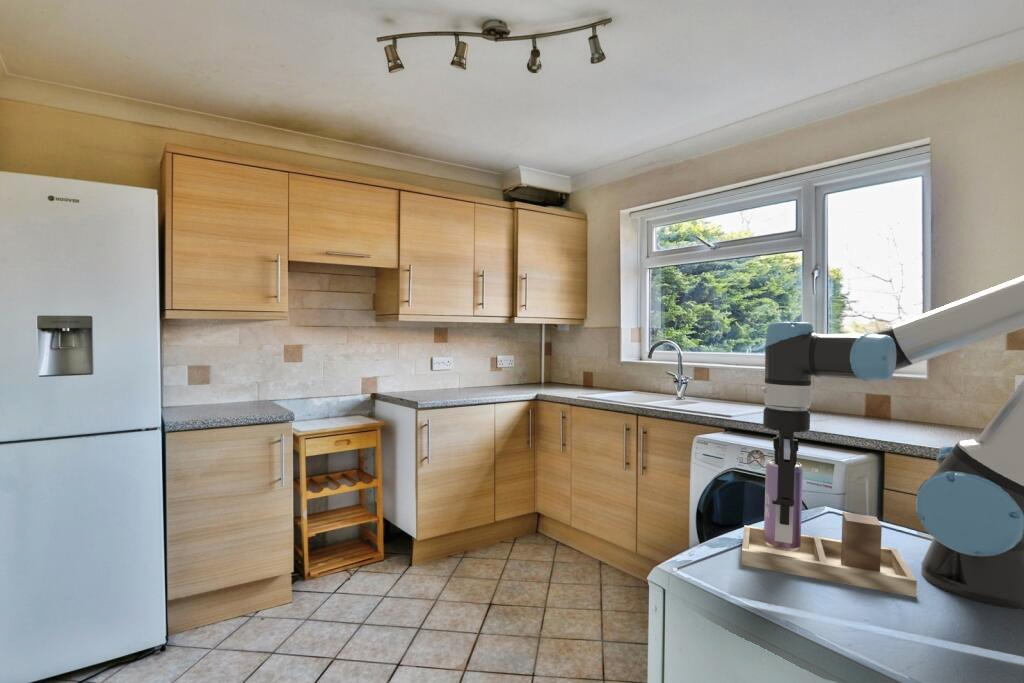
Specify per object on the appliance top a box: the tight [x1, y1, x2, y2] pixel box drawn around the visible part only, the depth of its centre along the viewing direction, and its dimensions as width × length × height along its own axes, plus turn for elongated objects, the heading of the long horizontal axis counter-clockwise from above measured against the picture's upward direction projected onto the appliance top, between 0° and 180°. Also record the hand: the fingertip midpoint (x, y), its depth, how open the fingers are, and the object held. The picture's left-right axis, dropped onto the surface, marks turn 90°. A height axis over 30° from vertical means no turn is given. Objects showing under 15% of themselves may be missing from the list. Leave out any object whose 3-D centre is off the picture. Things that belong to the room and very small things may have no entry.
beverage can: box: [763, 459, 804, 551], centre depth 98 cm, size 6×6×15 cm
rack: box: [741, 524, 918, 598], centre depth 96 cm, size 25×14×3 cm, turn 65°
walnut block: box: [841, 512, 883, 572], centre depth 93 cm, size 5×5×9 cm
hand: (782, 535), depth 98 cm, fingers closed on beverage can, 6 cm apart
